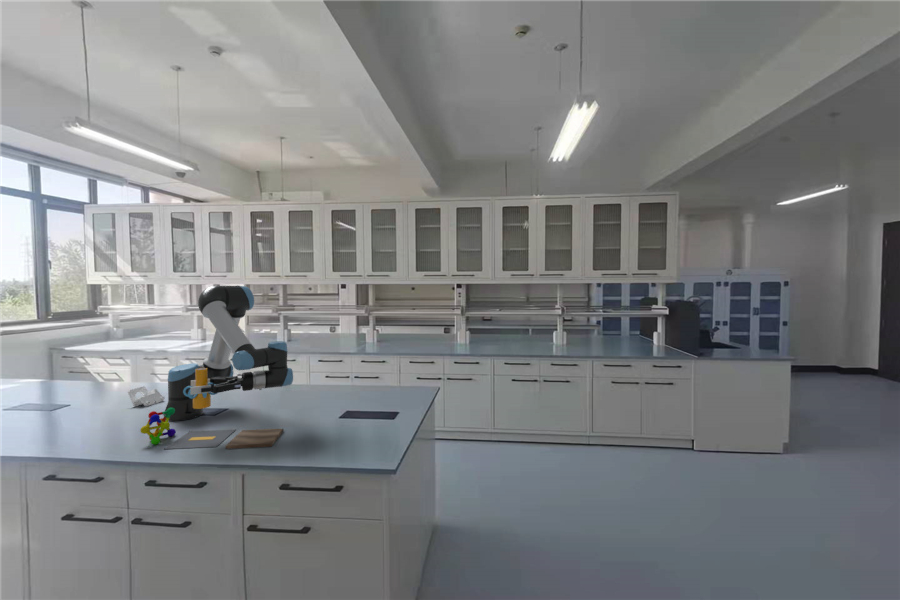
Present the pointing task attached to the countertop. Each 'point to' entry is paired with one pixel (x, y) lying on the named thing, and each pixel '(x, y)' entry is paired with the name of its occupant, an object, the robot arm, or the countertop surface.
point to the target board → (255, 438)
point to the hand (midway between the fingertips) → (190, 387)
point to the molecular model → (161, 424)
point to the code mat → (200, 439)
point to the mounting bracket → (145, 397)
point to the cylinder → (203, 398)
